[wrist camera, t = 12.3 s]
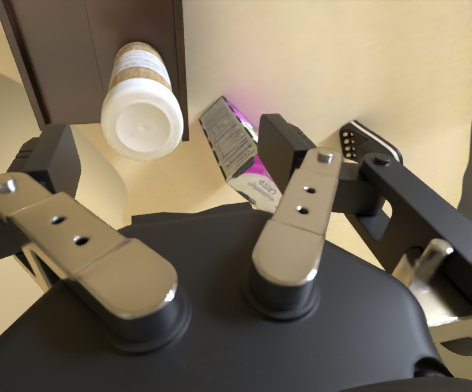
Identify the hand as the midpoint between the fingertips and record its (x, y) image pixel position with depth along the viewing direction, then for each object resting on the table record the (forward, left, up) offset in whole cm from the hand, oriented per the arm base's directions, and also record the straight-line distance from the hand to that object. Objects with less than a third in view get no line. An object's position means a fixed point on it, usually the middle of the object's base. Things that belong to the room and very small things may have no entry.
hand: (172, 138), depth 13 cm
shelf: (+1, -5, -27) cm, 27 cm away
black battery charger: (+15, +30, -27) cm, 43 cm away
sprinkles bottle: (+1, -1, -18) cm, 18 cm away
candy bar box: (+12, +11, -27) cm, 32 cm away
